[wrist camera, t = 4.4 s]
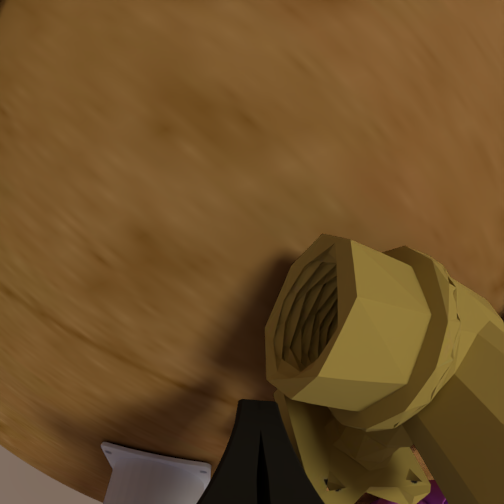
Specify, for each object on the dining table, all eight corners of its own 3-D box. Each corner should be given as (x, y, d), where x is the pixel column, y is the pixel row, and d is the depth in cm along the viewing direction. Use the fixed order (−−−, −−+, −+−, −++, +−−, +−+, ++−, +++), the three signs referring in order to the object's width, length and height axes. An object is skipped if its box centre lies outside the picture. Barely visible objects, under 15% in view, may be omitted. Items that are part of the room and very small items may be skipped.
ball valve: (314, 191, 11) (205, 394, 14) (603, 377, 1) (215, 612, 4) (489, 298, 14) (394, 427, 17) (610, 398, 4) (460, 548, 7)
